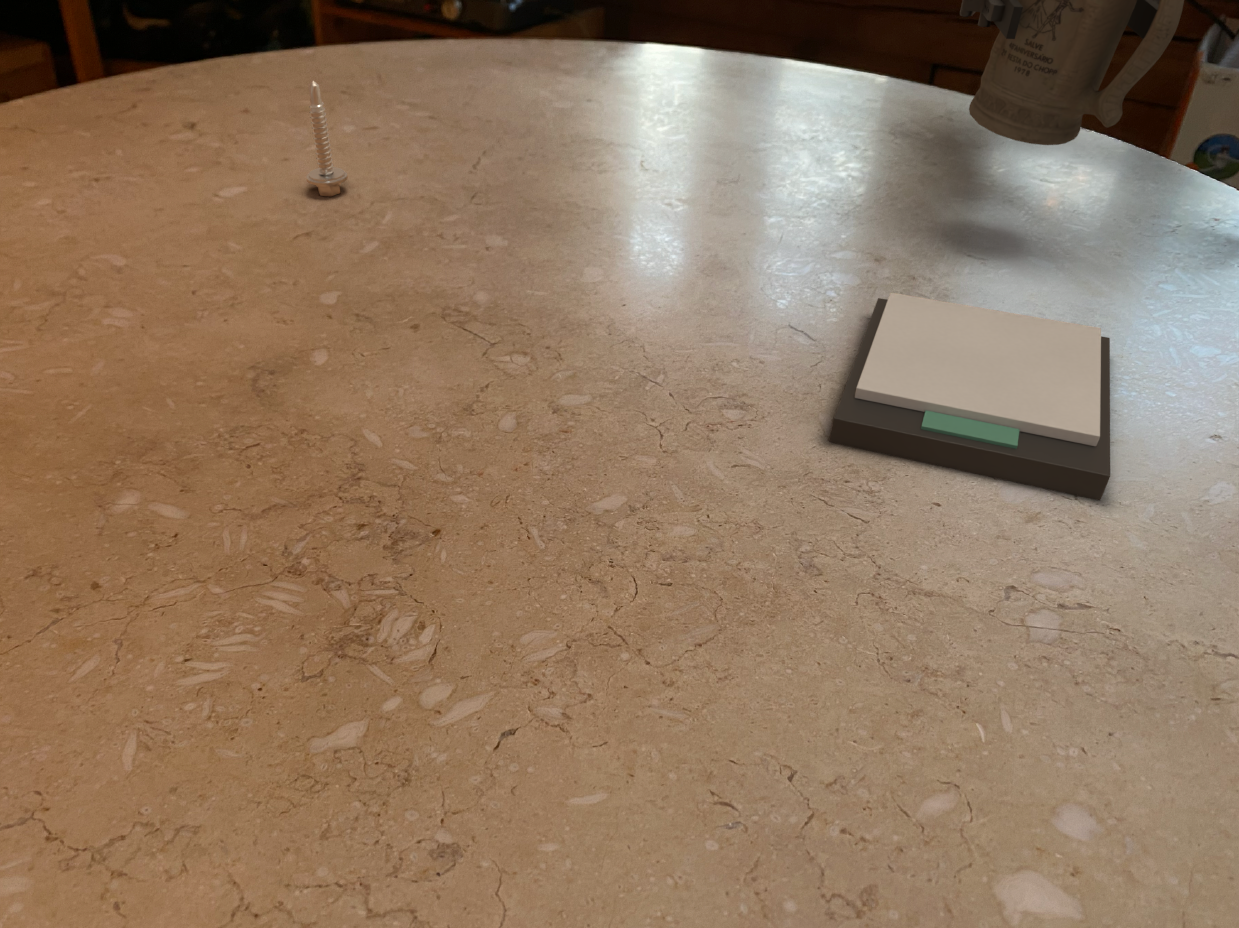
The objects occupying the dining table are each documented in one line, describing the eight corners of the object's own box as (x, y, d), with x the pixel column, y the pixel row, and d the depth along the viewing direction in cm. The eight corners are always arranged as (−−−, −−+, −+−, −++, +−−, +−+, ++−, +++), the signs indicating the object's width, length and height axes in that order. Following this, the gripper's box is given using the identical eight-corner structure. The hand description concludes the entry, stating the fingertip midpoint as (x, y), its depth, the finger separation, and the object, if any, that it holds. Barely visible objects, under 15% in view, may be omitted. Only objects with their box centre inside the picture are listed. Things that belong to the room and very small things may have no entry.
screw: (341, 201, 123) (303, 199, 123) (355, 186, 127) (317, 184, 127) (326, 88, 115) (284, 86, 115) (340, 75, 118) (300, 73, 119)
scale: (1098, 367, 93) (1113, 327, 90) (1097, 508, 77) (1115, 464, 74) (872, 326, 99) (880, 287, 96) (827, 449, 83) (835, 407, 80)
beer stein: (941, 111, 103) (1035, -112, 89) (994, 89, 109) (1091, -124, 95) (1078, 182, 97) (1204, -47, 82) (1127, 154, 103) (1253, -64, 88)
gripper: (1139, 14, 111) (1210, 74, 94) (909, 8, 113) (938, 64, 97) (1164, -65, 106) (1244, -17, 89) (924, -70, 109) (958, -25, 92)
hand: (1085, 25), depth 93 cm, fingers closed on beer stein, 11 cm apart
